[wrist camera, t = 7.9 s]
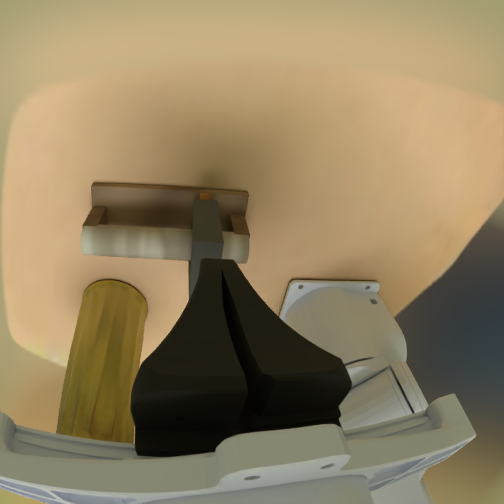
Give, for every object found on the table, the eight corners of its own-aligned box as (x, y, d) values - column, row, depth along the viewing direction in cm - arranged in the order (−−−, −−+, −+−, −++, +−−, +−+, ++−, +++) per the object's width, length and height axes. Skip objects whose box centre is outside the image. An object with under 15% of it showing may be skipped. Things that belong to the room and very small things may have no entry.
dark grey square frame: (217, 200, 21) (223, 242, 17) (210, 255, 24) (215, 303, 20) (193, 199, 21) (193, 241, 17) (188, 253, 23) (189, 302, 19)
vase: (90, 327, 28) (66, 465, 16) (76, 277, 24) (31, 431, 13) (150, 329, 29) (146, 474, 17) (144, 279, 26) (129, 444, 14)
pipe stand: (247, 192, 23) (258, 223, 19) (236, 250, 25) (245, 288, 22) (93, 182, 20) (73, 212, 17) (97, 243, 23) (83, 280, 19)
